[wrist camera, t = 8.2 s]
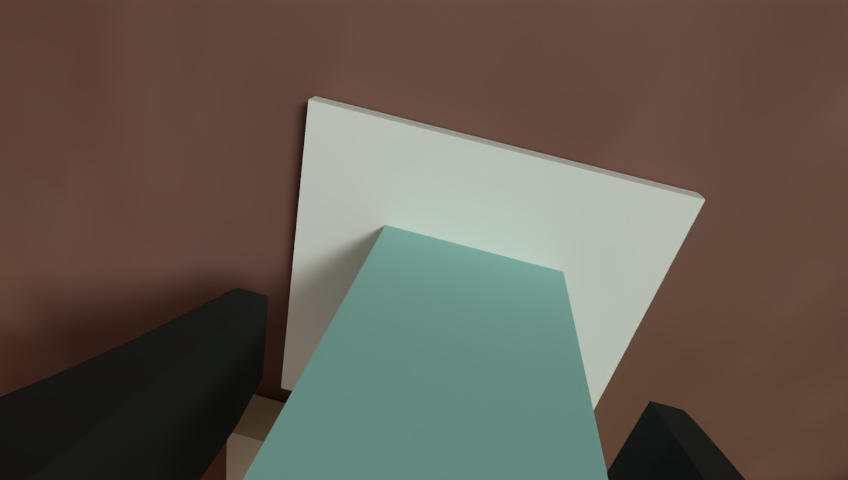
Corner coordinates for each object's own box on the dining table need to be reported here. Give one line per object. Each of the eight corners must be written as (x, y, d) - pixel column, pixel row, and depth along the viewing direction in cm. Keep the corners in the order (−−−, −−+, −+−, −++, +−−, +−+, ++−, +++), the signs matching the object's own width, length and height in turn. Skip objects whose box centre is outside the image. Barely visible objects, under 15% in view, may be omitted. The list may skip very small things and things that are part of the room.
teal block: (563, 271, 10) (651, 676, 4) (509, 402, 12) (512, 819, 6) (385, 225, 10) (206, 543, 4) (359, 360, 12) (207, 722, 6)
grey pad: (697, 193, 9) (705, 200, 9) (561, 455, 13) (563, 467, 13) (315, 96, 10) (308, 99, 9) (286, 377, 13) (280, 387, 13)
